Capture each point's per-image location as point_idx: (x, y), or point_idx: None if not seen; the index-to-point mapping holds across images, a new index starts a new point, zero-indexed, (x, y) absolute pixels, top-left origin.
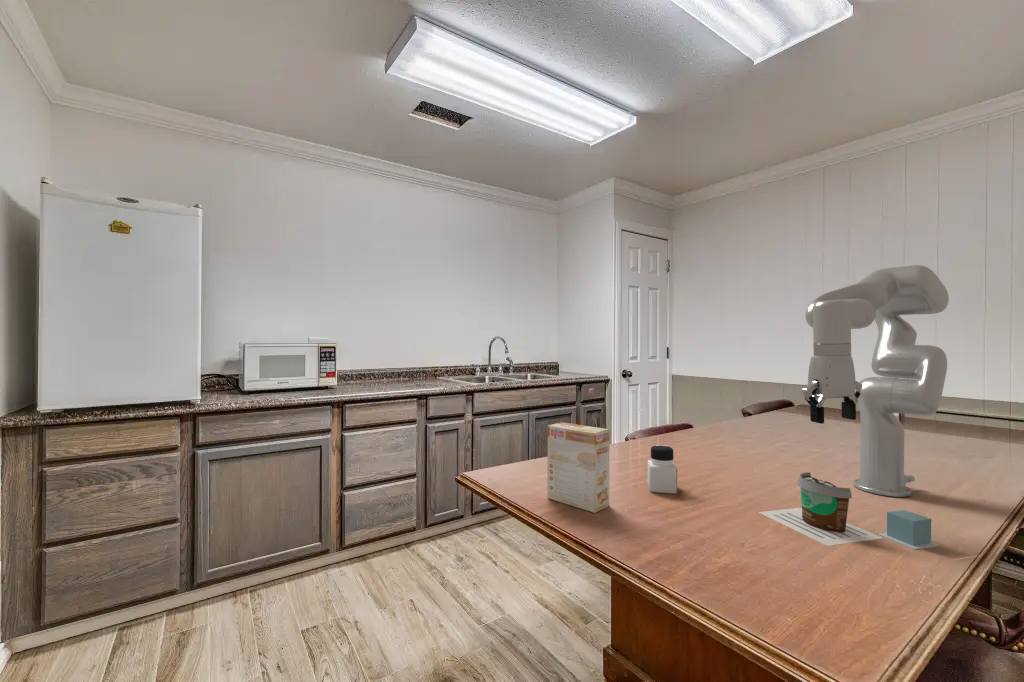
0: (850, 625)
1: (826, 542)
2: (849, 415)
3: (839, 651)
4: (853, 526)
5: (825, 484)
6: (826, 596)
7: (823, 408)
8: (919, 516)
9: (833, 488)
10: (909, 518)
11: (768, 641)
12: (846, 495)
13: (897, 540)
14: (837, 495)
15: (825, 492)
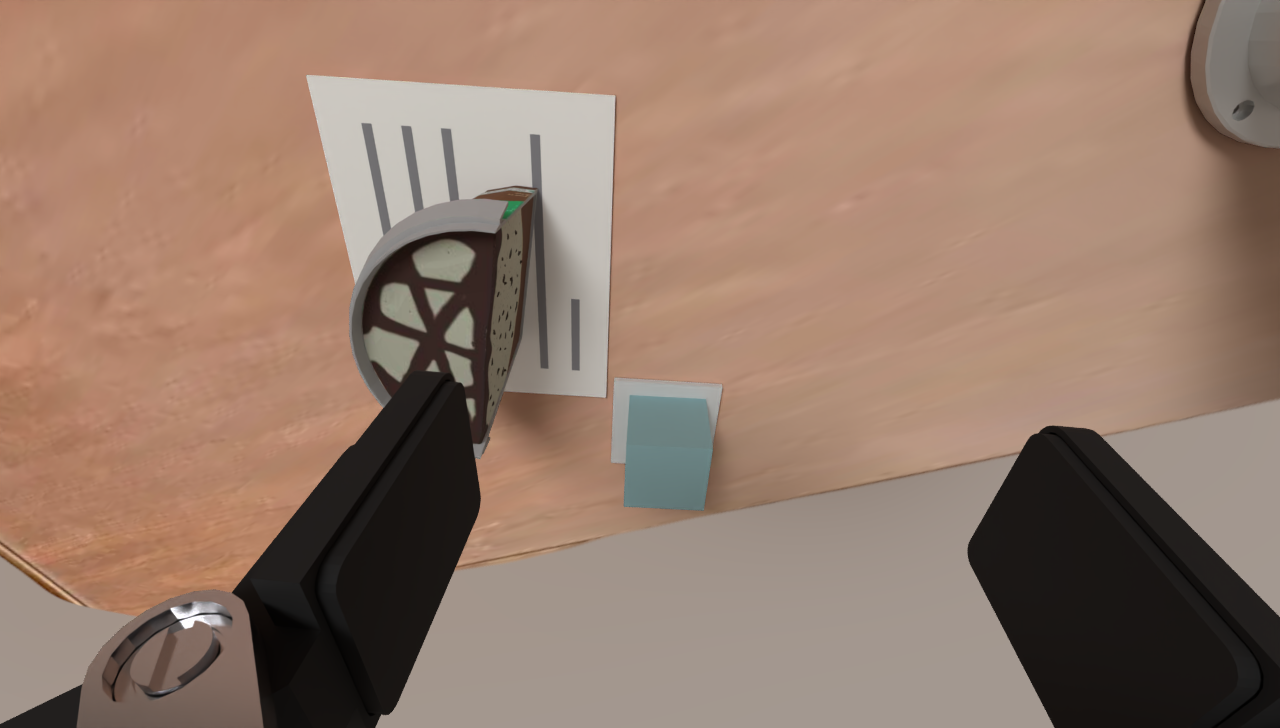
0: (197, 568)
1: None
2: (1011, 555)
3: (137, 592)
4: (600, 314)
5: (450, 362)
6: (208, 515)
7: (375, 709)
8: (690, 492)
9: None
10: (639, 491)
11: (26, 558)
12: None
13: (622, 422)
14: None
15: None
